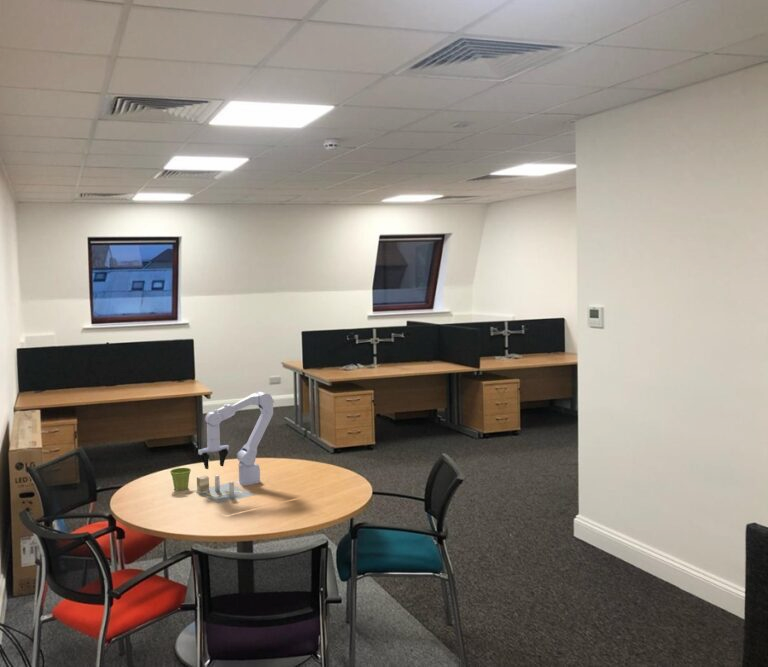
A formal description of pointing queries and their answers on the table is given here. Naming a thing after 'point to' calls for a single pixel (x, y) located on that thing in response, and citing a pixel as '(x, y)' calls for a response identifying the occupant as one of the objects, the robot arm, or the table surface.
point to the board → (225, 492)
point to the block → (203, 483)
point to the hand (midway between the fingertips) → (214, 467)
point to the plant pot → (180, 478)
